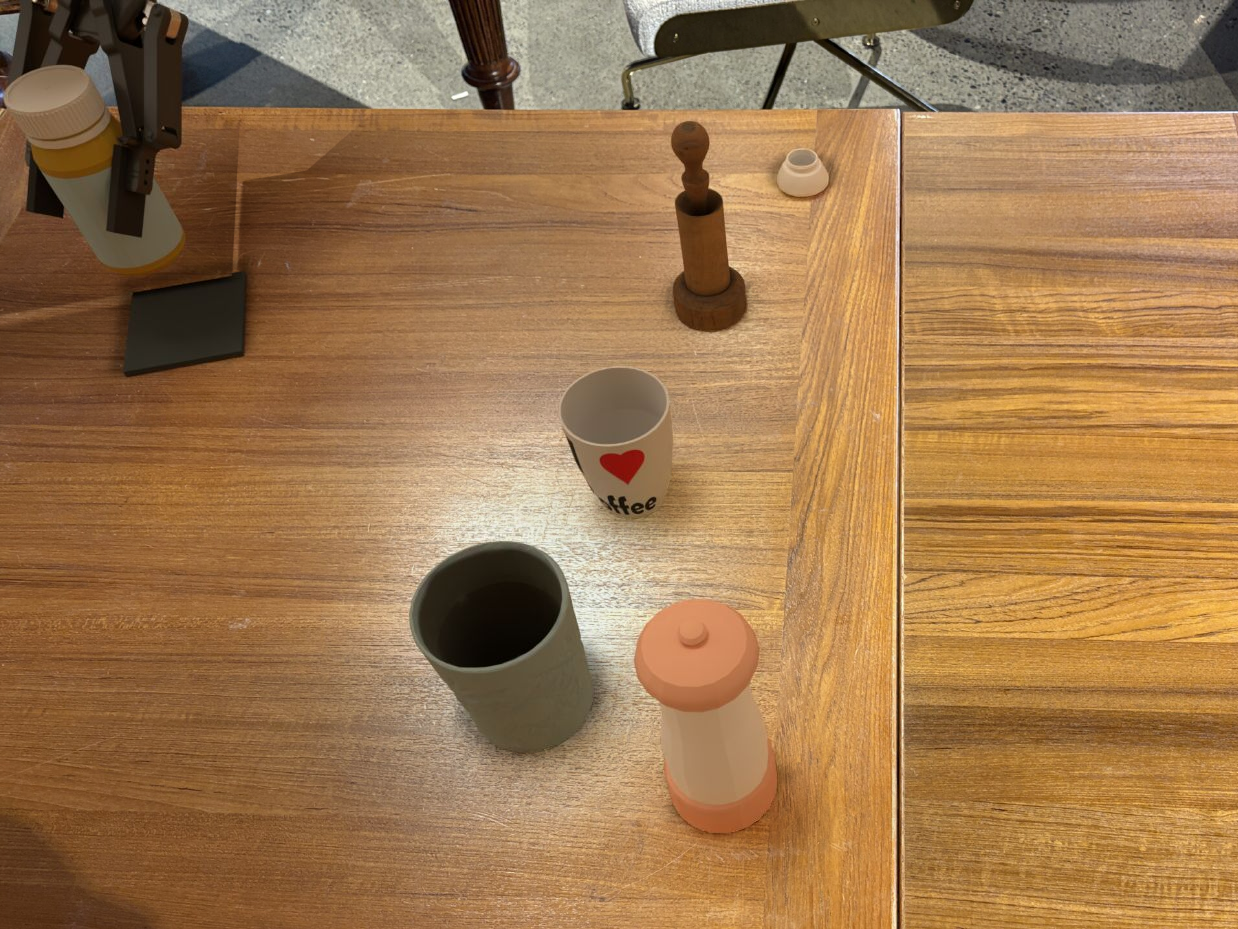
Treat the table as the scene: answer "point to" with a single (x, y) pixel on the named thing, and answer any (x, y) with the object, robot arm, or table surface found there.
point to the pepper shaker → (708, 713)
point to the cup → (620, 437)
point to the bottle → (89, 166)
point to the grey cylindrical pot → (506, 643)
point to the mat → (186, 324)
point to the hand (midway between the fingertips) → (84, 224)
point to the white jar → (802, 174)
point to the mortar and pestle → (703, 242)
